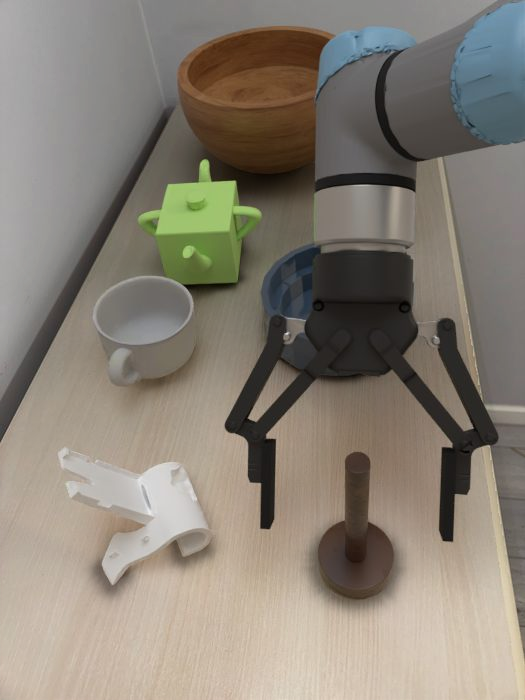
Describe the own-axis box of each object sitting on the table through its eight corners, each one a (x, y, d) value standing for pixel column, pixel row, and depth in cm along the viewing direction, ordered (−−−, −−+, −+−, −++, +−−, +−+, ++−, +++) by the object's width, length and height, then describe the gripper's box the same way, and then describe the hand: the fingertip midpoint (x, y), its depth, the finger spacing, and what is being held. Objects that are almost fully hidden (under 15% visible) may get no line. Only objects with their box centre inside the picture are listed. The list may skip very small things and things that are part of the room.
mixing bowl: (429, 298, 80) (434, 259, 76) (378, 399, 71) (380, 362, 66) (303, 265, 86) (300, 227, 82) (240, 354, 77) (234, 316, 72)
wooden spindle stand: (403, 546, 59) (417, 442, 48) (376, 612, 56) (384, 517, 44) (336, 519, 62) (333, 413, 50) (306, 580, 58) (296, 481, 46)
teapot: (214, 217, 95) (203, 149, 87) (284, 254, 88) (279, 184, 80) (131, 273, 88) (110, 206, 80) (199, 318, 81) (184, 249, 74)
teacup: (143, 314, 83) (127, 264, 77) (220, 336, 79) (210, 286, 73) (76, 396, 75) (53, 348, 69) (158, 426, 71) (141, 377, 65)
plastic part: (214, 545, 61) (195, 477, 53) (108, 589, 59) (70, 526, 51) (188, 479, 66) (167, 407, 58) (90, 518, 64) (52, 450, 55)
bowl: (222, 114, 115) (209, 23, 103) (369, 122, 108) (371, 26, 97) (170, 201, 99) (147, 104, 88) (338, 216, 93) (337, 114, 81)
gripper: (524, 258, 53) (513, 525, 54) (212, 255, 56) (207, 506, 57) (550, 248, 45) (537, 559, 46) (189, 246, 49) (184, 534, 50)
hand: (354, 530), depth 52 cm, fingers open, 13 cm apart
